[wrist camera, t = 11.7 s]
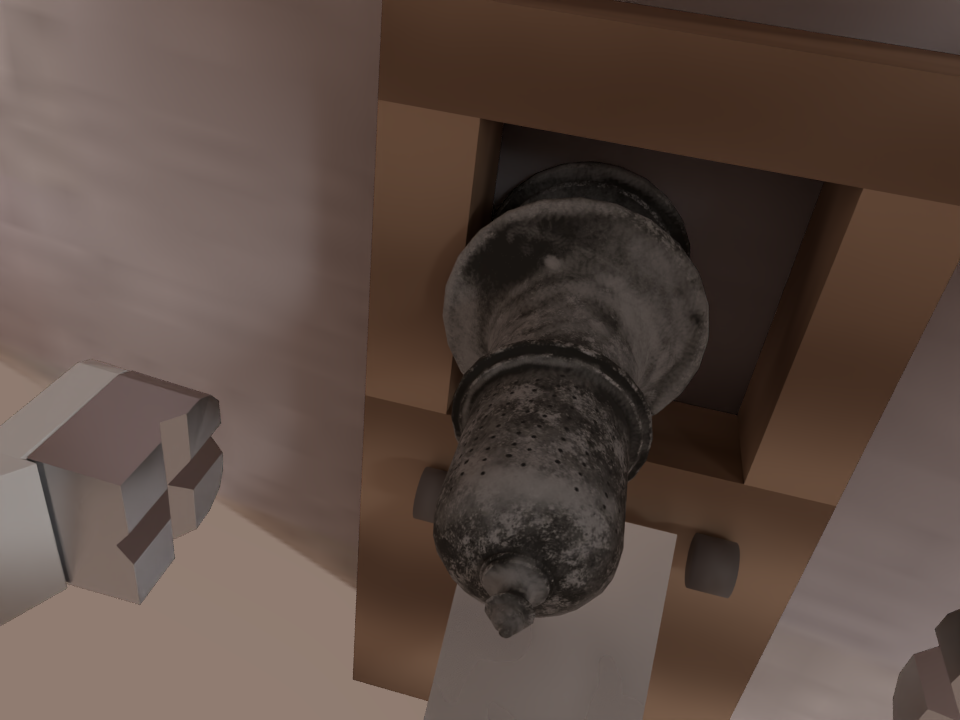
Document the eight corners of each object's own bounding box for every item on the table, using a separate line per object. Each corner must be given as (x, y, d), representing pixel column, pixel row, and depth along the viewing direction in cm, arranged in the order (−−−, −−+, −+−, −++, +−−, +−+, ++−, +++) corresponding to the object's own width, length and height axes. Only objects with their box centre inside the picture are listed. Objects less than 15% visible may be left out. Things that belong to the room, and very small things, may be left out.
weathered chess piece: (652, 386, 21) (640, 820, 11) (453, 321, 22) (269, 690, 12) (742, 192, 18) (838, 560, 8) (507, 118, 18) (319, 386, 8)
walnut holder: (426, -30, 17) (356, -9, 14) (987, 59, 16) (1078, 109, 12) (381, 612, 29) (337, 715, 25) (698, 698, 28) (700, 822, 24)
